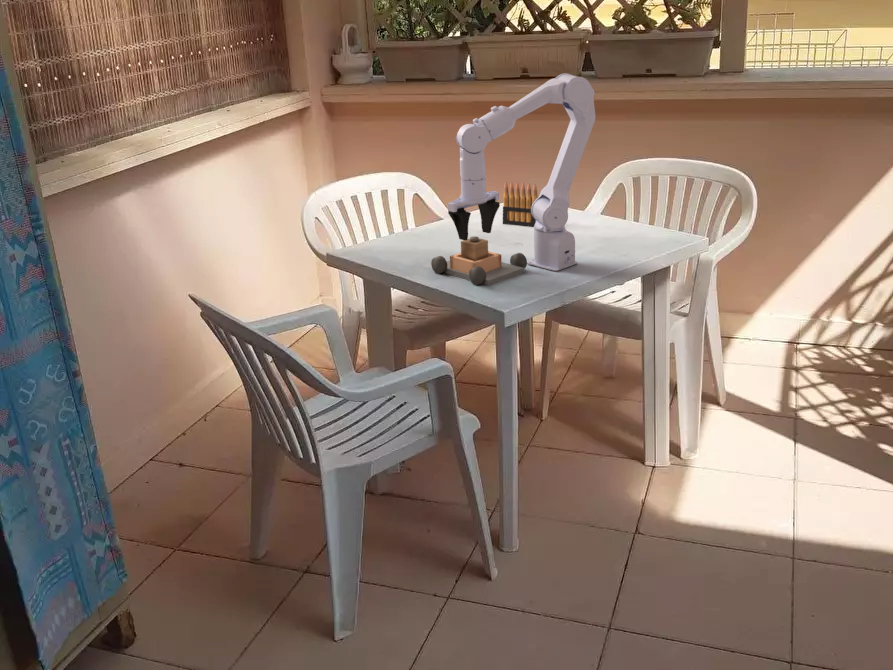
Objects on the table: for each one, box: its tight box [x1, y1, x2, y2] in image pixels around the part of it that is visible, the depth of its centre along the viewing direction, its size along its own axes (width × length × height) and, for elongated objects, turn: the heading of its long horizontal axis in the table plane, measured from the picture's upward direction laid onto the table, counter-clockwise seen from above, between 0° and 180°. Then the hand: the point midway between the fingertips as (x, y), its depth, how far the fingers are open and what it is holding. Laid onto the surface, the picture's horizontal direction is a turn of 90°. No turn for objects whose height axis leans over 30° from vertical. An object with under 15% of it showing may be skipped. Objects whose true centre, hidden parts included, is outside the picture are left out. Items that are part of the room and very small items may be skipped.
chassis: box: [430, 250, 528, 286], centre depth 209 cm, size 18×15×4 cm
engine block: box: [460, 235, 489, 261], centre depth 208 cm, size 4×4×7 cm
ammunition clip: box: [502, 181, 539, 228], centre depth 245 cm, size 11×2×12 cm, turn 60°
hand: (475, 235), depth 206 cm, fingers open, 7 cm apart
